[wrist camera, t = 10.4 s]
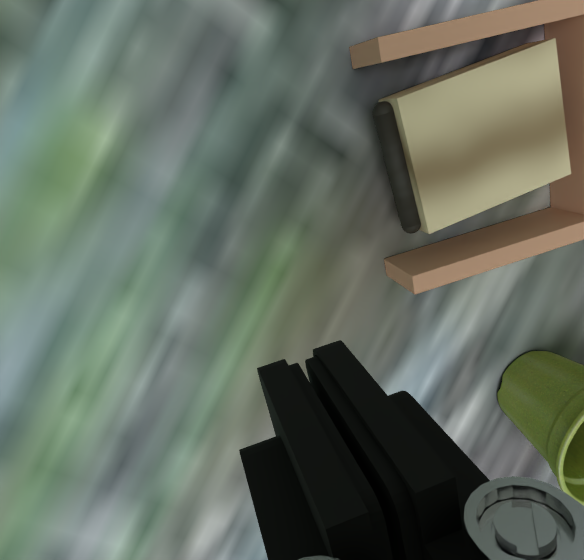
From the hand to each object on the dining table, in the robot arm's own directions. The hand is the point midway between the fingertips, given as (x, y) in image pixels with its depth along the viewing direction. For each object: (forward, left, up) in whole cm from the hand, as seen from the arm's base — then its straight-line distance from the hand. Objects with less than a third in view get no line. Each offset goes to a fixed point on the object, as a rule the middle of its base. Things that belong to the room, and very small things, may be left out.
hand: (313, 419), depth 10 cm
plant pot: (+20, +21, -22) cm, 37 cm away
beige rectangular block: (0, +17, -22) cm, 28 cm away
